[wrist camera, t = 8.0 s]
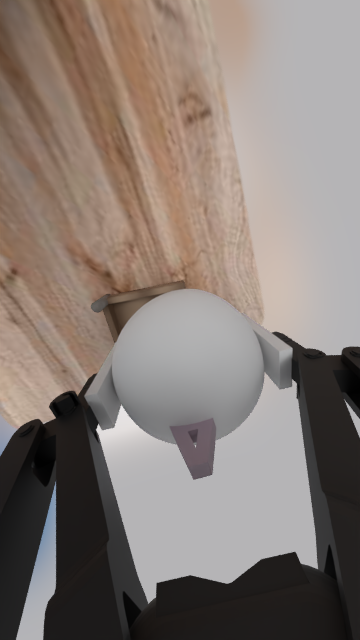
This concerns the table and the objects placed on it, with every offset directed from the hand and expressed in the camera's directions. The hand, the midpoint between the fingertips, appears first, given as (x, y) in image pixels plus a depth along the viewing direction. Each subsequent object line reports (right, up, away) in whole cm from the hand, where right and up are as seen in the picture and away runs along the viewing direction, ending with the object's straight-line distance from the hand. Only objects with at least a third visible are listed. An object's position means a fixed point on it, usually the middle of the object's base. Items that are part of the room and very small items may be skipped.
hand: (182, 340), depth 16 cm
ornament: (0, +1, +2) cm, 2 cm away
